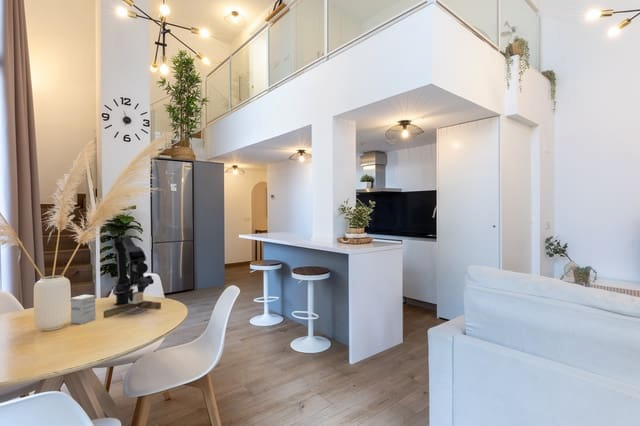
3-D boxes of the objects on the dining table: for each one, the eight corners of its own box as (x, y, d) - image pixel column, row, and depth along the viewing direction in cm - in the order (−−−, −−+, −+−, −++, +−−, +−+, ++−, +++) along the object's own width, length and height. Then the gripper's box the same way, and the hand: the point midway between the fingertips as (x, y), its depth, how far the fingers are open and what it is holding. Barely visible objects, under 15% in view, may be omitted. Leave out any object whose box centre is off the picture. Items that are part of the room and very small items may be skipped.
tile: (124, 312, 168) (124, 312, 168) (137, 308, 175) (137, 307, 175) (134, 314, 165) (134, 313, 165) (147, 309, 173) (147, 309, 173)
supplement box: (70, 323, 153) (69, 297, 153) (85, 318, 160) (85, 294, 160) (81, 324, 151) (80, 298, 151) (96, 319, 158) (95, 294, 158)
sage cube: (135, 303, 167) (135, 294, 167) (128, 302, 169) (128, 293, 169) (143, 301, 172) (143, 292, 172) (136, 300, 173) (136, 291, 173)
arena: (103, 317, 161) (103, 311, 161) (141, 305, 181) (141, 299, 181) (125, 321, 155) (125, 314, 155) (162, 308, 175) (162, 302, 175)
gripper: (130, 275, 159) (130, 306, 159) (160, 269, 176) (161, 296, 176) (114, 274, 163) (115, 304, 163) (146, 268, 180) (146, 295, 180)
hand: (135, 299), depth 170 cm, fingers closed on sage cube, 5 cm apart
